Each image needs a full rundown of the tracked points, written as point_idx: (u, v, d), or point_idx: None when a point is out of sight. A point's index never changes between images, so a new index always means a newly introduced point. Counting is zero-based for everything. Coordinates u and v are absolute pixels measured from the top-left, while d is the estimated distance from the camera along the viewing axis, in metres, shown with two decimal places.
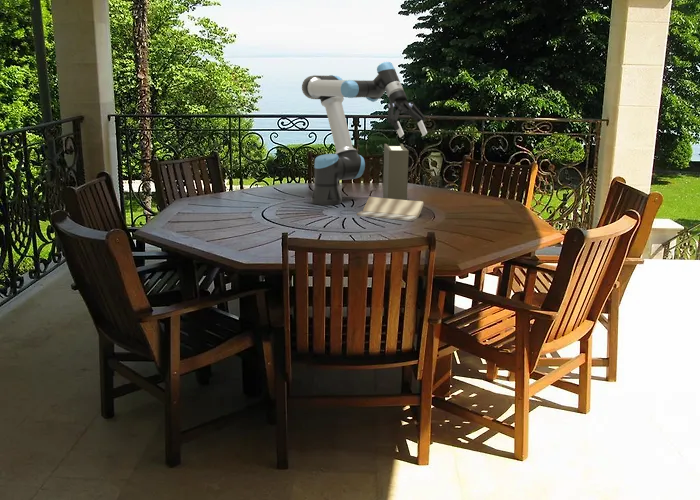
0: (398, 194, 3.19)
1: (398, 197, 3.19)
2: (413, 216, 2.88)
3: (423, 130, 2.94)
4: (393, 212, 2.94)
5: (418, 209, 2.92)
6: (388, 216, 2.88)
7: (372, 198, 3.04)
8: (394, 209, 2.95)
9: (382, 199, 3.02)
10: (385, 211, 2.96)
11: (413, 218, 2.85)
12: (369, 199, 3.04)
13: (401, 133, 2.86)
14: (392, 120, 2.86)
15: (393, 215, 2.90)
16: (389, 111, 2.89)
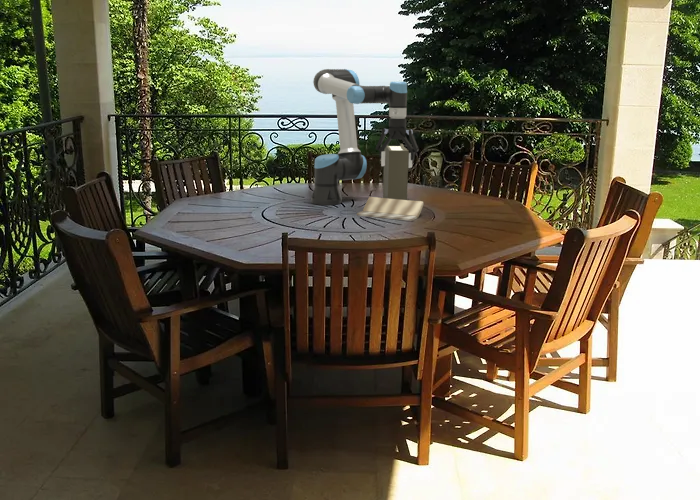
0: (398, 194, 3.19)
1: (398, 197, 3.19)
2: (413, 216, 2.88)
3: None
4: (393, 212, 2.94)
5: (418, 209, 2.92)
6: (388, 216, 2.88)
7: (372, 198, 3.04)
8: (394, 209, 2.95)
9: (382, 199, 3.02)
10: (385, 211, 2.96)
11: (413, 218, 2.85)
12: (369, 199, 3.04)
13: None
14: (377, 149, 2.97)
15: (393, 215, 2.90)
16: None
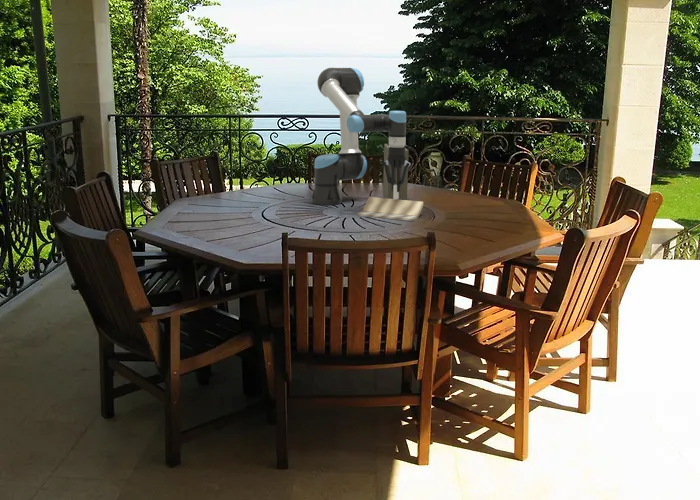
0: None
1: None
2: (413, 216, 2.88)
3: None
4: (393, 212, 2.94)
5: (418, 209, 2.92)
6: (388, 216, 2.88)
7: (372, 198, 3.04)
8: (394, 209, 2.95)
9: (382, 199, 3.02)
10: (385, 211, 2.96)
11: (413, 218, 2.85)
12: (369, 199, 3.04)
13: None
14: (389, 182, 2.98)
15: (393, 215, 2.90)
16: None
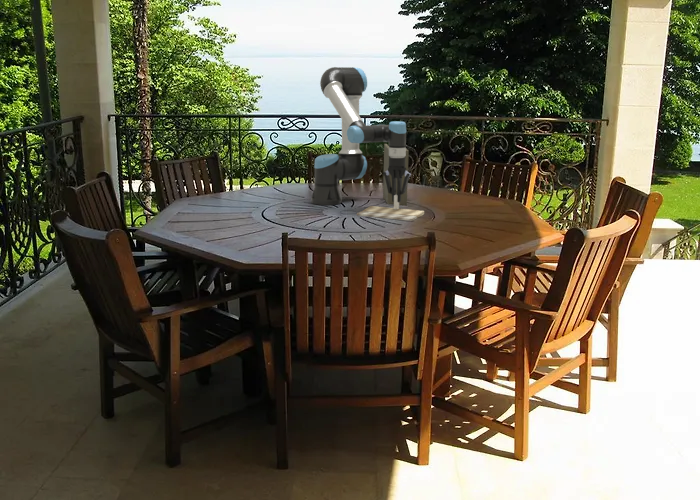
0: None
1: None
2: (413, 216, 2.88)
3: None
4: (393, 213, 2.95)
5: (419, 213, 2.93)
6: (388, 216, 2.88)
7: (374, 206, 3.07)
8: (395, 212, 2.97)
9: (383, 207, 3.04)
10: (386, 212, 2.97)
11: (413, 218, 2.85)
12: (370, 206, 3.06)
13: None
14: (390, 192, 3.00)
15: (393, 215, 2.90)
16: None
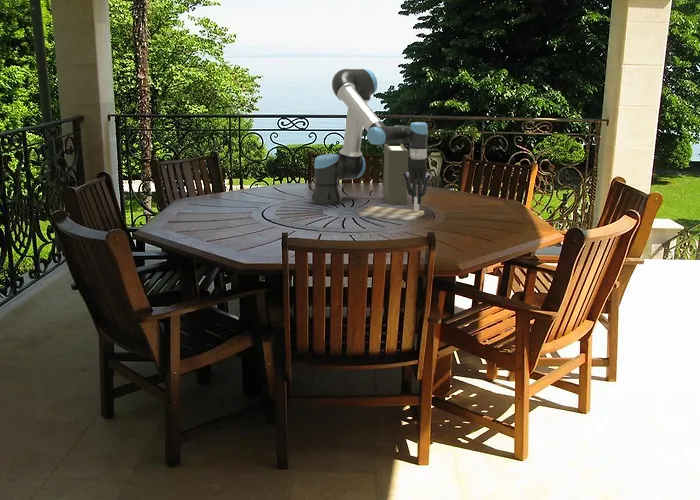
0: (398, 194, 3.19)
1: (398, 197, 3.19)
2: (413, 216, 2.88)
3: None
4: (393, 213, 2.95)
5: (419, 213, 2.93)
6: (388, 216, 2.88)
7: (374, 206, 3.07)
8: (395, 212, 2.97)
9: (383, 207, 3.04)
10: (386, 212, 2.97)
11: (413, 218, 2.85)
12: (370, 206, 3.06)
13: None
14: (410, 194, 2.95)
15: (393, 215, 2.90)
16: None
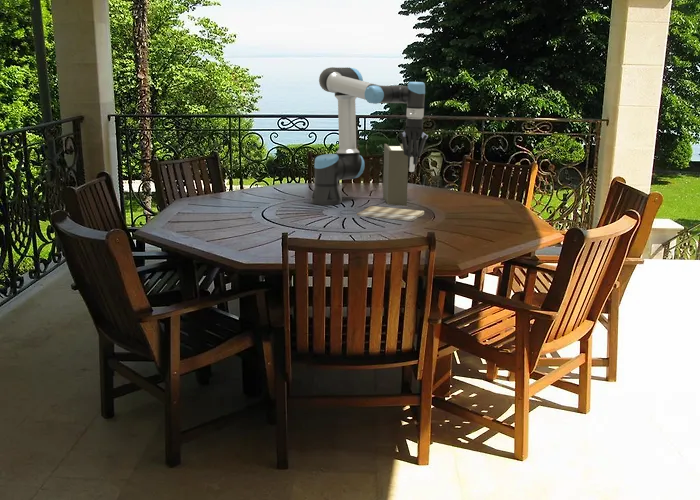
0: (398, 194, 3.19)
1: (398, 197, 3.19)
2: (413, 216, 2.88)
3: None
4: (393, 213, 2.95)
5: (419, 213, 2.93)
6: (388, 216, 2.88)
7: (374, 206, 3.07)
8: (395, 212, 2.97)
9: (383, 207, 3.04)
10: (386, 212, 2.97)
11: (413, 218, 2.85)
12: (370, 206, 3.06)
13: None
14: (406, 154, 2.96)
15: (393, 215, 2.90)
16: None
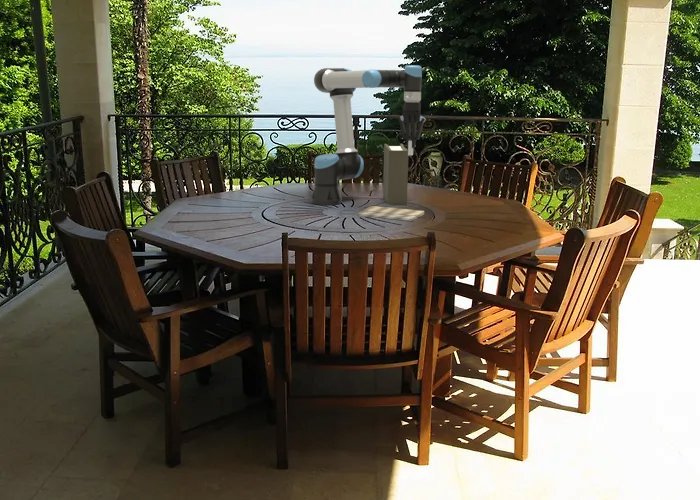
0: (398, 194, 3.19)
1: (398, 197, 3.19)
2: (413, 216, 2.88)
3: None
4: (393, 213, 2.95)
5: (419, 213, 2.93)
6: (388, 216, 2.88)
7: (374, 206, 3.07)
8: (395, 212, 2.97)
9: (383, 207, 3.04)
10: (386, 212, 2.97)
11: (413, 218, 2.85)
12: (370, 206, 3.06)
13: None
14: (404, 138, 2.98)
15: (393, 215, 2.90)
16: None
